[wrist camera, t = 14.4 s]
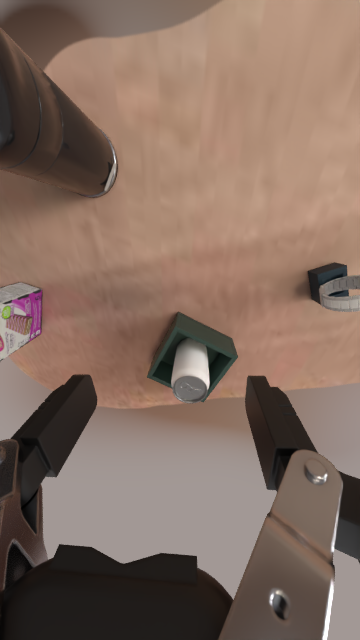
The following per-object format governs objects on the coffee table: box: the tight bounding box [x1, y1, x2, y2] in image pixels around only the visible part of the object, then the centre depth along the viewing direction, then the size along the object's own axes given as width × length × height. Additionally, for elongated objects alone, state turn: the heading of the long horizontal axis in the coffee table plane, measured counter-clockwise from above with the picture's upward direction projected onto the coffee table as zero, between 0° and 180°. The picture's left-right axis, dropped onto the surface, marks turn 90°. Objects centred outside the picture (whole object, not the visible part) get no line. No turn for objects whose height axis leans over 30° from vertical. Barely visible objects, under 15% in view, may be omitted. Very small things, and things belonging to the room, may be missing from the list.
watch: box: [308, 263, 360, 312], centre depth 32 cm, size 6×8×11 cm
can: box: [171, 338, 210, 403], centre depth 38 cm, size 6×6×12 cm
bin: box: [147, 312, 238, 402], centre depth 41 cm, size 13×13×7 cm
